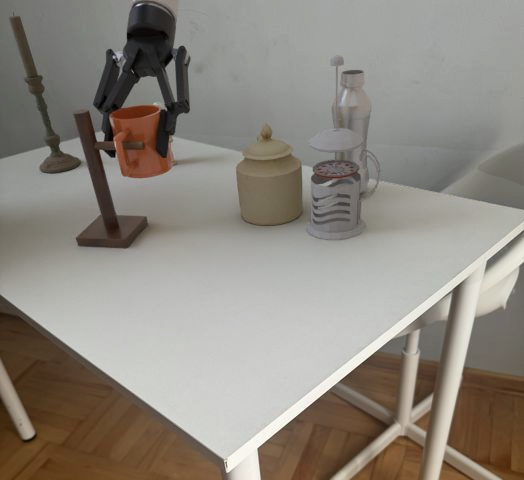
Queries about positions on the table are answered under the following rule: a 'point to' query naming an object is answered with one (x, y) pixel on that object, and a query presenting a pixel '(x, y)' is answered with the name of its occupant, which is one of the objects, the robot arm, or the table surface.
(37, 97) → the candlestick holder
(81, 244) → the mug stand
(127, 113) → the mug
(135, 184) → the table surface
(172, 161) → the grandmother figurine
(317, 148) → the french press
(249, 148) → the sugar bowl
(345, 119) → the silver metal bottle
